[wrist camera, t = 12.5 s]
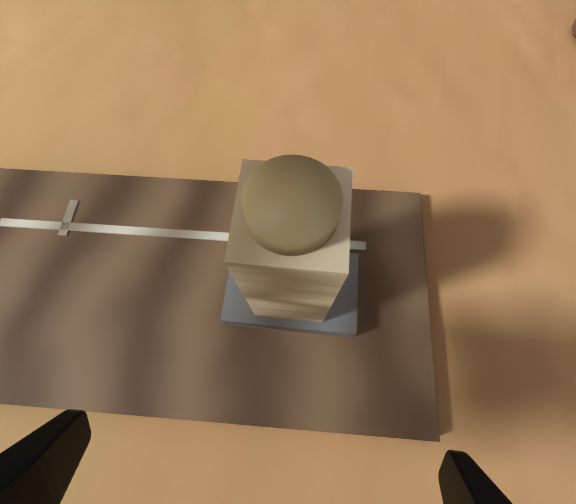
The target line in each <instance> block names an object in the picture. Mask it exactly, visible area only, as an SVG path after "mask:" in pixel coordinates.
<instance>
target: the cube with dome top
mask: <svg viewBox="0 0 576 504" xmlns="http://www.w3.org/2000/svg"><path fill="white" fill-rule="evenodd" d="M352 169H353V168H350V167H337V166H325V165H324V164H322V163H321V162H319V161H317V160H315V159H312V158H310V157H306V156H301V155H283V156H278V157H275V158H272V159H269V160H267V161H259V160H247V159H243V160H242V165H241V171H240V177H239V182H238V188H237V193H236V199H235V204H234V210H233V215H232V221H231V226H230V232H229V237H228V243H227V248H226V254H225V259H224V263H225V265H226V266H227V268H228V270H229V273H228V279H227V285H226V290H225V296H224V302H223V308H222V313H221V319H220V321H222V322H223V323H224V324H226V325H236V326H246V327H256V328H266V329H276V330H285V331H295V332H305V333H315V334H325V335H335V336H344V337H353V336H355V335H356V334H357V300H358V261H359V254H356V253H349V252H350V224H351V197H352Z"/></svg>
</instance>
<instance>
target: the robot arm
mask: <svg viewBox="0 0 576 504" xmlns="http://www.w3.org/2000/svg"><path fill="white" fill-rule="evenodd" d="M90 438H91V429H90V425H89V422H88V418H87V414H86V412H85V411H83V410H76V409H68V410H66V411H64V412H62V413H60V414H59V415H57V416H56V417H54V418H53V419H51V420H50V421H48V422H47V423H45V424H44V425H42V426H41V427H39V428H38V429H36V430H35V431H33V432H32V433H30V434H29V435H27V436H26V437H24V438H23V439H21V440H20V441H18V442H17V443H15V444H14V445H12V446H11V447H9V448H8V449H6V450H5V451H3V452H2V453H0V504H60V503H61V501H62V499H63V496H64V494H65V492H66V490H67V488H68V486H69V484H70V482H71V480H72V478H73V475H74V473H75V471H76V469H77V467H78V465H79V463H80V461H81V459H82V457H83V454H84V452H85V450H86V448H87V446H88V444H89V442H90ZM438 478H439V485H440V490H441V494H442V499H443V504H512V503H511V501H510V500H509V499H508V498H507V497H506V496H505V495H504V494H503V493H502V491H501V490H500V489H499V488H498V487H497V486H496V485H495V484H494V483H493V481H492V480H491V479H490V478H489V477H488V476H487V475H486V474H485V473H484V471H483V470H482V469H481V468H480V467H479V466H478V465H477V464H476V462H475V461H474V460H473V459H472V458H471V457H470V456H469V455H468V454H467V453H465V452H463V451H455V450H448V451H447V452H446V454H445V456H444V459H443V462H442V464H441V467H440V469H439V477H438Z"/></svg>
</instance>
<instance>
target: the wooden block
mask: <svg viewBox="0 0 576 504" xmlns="http://www.w3.org/2000/svg"><path fill="white" fill-rule="evenodd" d="M572 32H573V34H574V36H575V37H576V20H575V21H574V23H573V26H572Z"/></svg>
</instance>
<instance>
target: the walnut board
mask: <svg viewBox="0 0 576 504" xmlns="http://www.w3.org/2000/svg"><path fill="white" fill-rule="evenodd" d="M237 188H238V182H224V181H207V180H190V179H173V178H156V177H139V176H122V175H105V174H88V173H71V172H54V171H37V170H20V169H3V168H0V404H10V405H22V406H33V407H45V408H56V409H76V410H83V411H91V412H102V413H114V414H125V415H137V416H148V417H160V418H171V419H183V420H194V421H206V422H217V423H229V424H240V425H252V426H263V427H275V428H286V429H298V430H309V431H321V432H332V433H344V434H355V435H367V436H378V437H390V438H401V439H413V440H424V441H436V442H440V438H439V425H438V413H437V400H436V388H435V375H434V363H433V350H432V337H431V325H430V312H429V300H428V287H427V275H426V262H425V250H424V237H423V224H422V212H421V199H420V193H411V192H394V191H377V190H360V189H352V197H351V224H350V252H349V253H356V254H359V261H358V300H357V334H356V335H355V336H353V337H344V336H335V335H325V334H315V333H305V332H295V331H285V330H276V329H266V328H256V327H246V326H236V325H226V324H224V323H223V322H222V321H220V319H221V313H222V308H223V302H224V296H225V290H226V285H227V279H228V273H229V270H228V268H227V266H226V265H225V263H224V259H225V254H226V248H227V243H228V237H229V232H230V226H231V221H232V215H233V210H234V204H235V199H236V193H237Z"/></svg>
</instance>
